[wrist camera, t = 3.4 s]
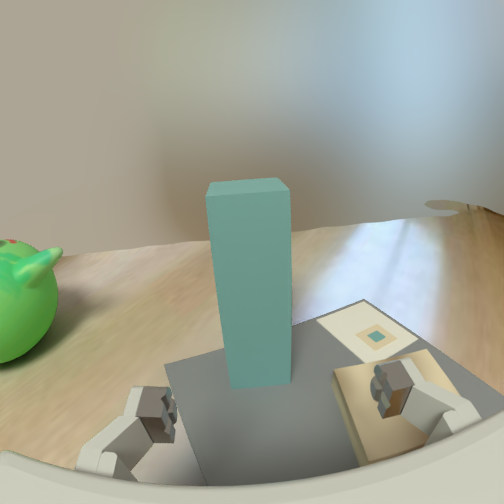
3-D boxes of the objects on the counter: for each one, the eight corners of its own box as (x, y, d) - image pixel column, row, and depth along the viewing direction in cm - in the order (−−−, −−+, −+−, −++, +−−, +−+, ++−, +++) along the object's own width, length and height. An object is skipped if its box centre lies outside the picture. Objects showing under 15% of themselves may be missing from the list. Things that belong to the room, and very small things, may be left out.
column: (231, 389, 24) (205, 196, 18) (230, 351, 29) (210, 182, 22) (290, 383, 24) (289, 190, 18) (282, 347, 29) (277, 177, 23)
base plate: (262, 587, 9) (260, 586, 7) (166, 372, 27) (159, 348, 26) (504, 407, 17) (519, 384, 16) (363, 305, 36) (365, 284, 35)
